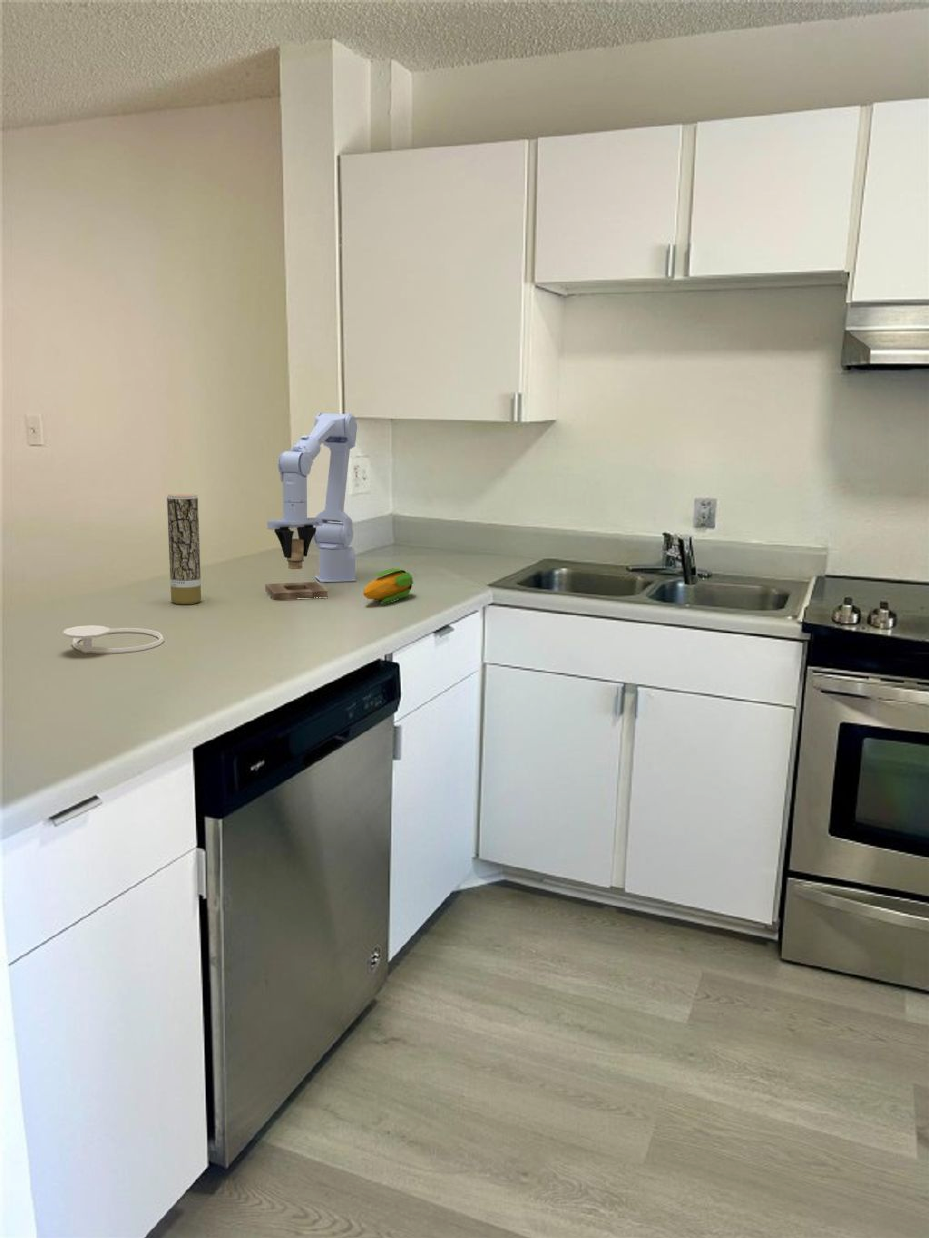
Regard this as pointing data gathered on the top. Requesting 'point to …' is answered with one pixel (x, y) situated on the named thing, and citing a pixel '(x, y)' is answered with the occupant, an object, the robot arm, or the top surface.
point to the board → (295, 590)
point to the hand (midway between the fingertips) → (295, 556)
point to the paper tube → (184, 548)
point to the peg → (296, 554)
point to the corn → (389, 586)
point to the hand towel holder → (96, 631)
